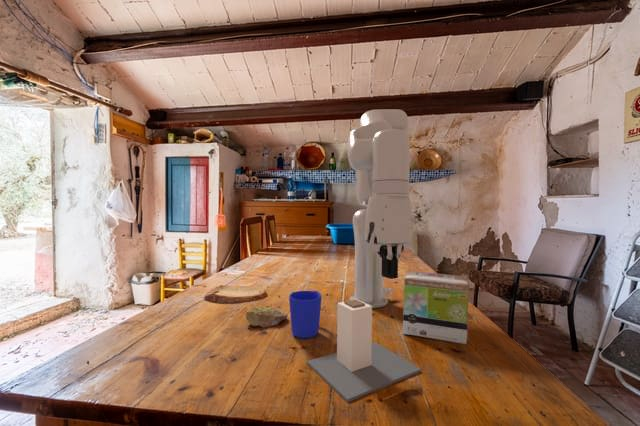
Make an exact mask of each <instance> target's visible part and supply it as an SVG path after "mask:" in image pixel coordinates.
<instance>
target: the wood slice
mask: <svg viewBox="0 0 640 426" xmlns="http://www.w3.org/2000/svg"><path fill="white" fill-rule="evenodd" d="M268 296H269V294H268V293H267V291H266V289H265V288H263V287H259V286H258V287H257V286H250V285H249V286H247V285H226V284H225V285H224V284H223V285H222V284H221V285H219V286H215V287H214V288H211V289H210V290H209V291H208V292H206V294H205V295H204V297H203V299H205V300H204V301H209V302H212V303H218V302H221V303H220V304H224V303H225V304H226V303H227V304H228V303H231V304H233V302H235V303H245V301H247V302H253V301H252V300H254V301H258V300H261V299H265V298H266V297H268Z"/></svg>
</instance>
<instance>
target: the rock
mask: <svg viewBox="0 0 640 426" xmlns="http://www.w3.org/2000/svg"><path fill="white" fill-rule="evenodd" d="M245 317H246V319H245V320H247V322H248V323H249V324H250V325H251V326H254V327H258V326H260V327H262V328H269V327H273V326H275V325H278V324H279V323H280V322H282V321H284V320H286V319H287V318H288V314H287V313H285V312H284V311H281V310H280V309H278V308H276V307H273V306H271V307H270V306H267V307H263V306H258V307H257V306H255V307H254V308H250V310H249V311H247V312H246V314H245Z"/></svg>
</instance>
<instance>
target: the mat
mask: <svg viewBox="0 0 640 426" xmlns="http://www.w3.org/2000/svg"><path fill="white" fill-rule="evenodd" d="M306 365H308V367H310V368H311V369H312V370H313V371H314V372H315V373H316V374H317V375H318V376H319V377H320V378H321V379H322V380H323V381H325V382H326V384H327V385H328V386H329V387H330V388H331V389H333V391H335V392H336V394H338V395H339V396H340V397H341V398H342V399H343V400H344V401H345V402H346V403H349V402H352V401H353V400H356V399H359V398H362V397H363V396H364V397H365V396H367V395H368V394H371V393H373V392H376V391H378V390H381V389H383V388H385V387H388V386H391V385H392V384H394V383H398V382H400V381H401V380H404V379H406V378H410V377H412V376H415V375H417V374H419V373H421V372H422V370H421V368H419V367H418V366H417V365H414V364H413V363H411V362H410V361H407V360H406V359H404V358H402V357H401V356H399V355H398V354H396V353H394V352H392V351H391V350H389V349H387V348H385V347H384V346H382V345H381V344H379V343H377V342H375V341H373V340H372V355H371V365H370V366H367V367H364V368H361V369H358V370H355V371H352V372H351V371H350V370H348V369H347V368H346V367H345V366H344V365H342V364H341V363H340V362H339V361H337V351H335V352H333V353H329V354H326V355H323V356H320V357H317V358H314V359H309V360H308V361H306Z"/></svg>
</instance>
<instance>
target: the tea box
mask: <svg viewBox="0 0 640 426" xmlns="http://www.w3.org/2000/svg"><path fill="white" fill-rule="evenodd" d="M405 273H406V274H405V277H404V284H403V309H402V310H403V311H402V334H403V335H411V336H416V337H422V338H429V339H434V340H440V341H445V342H450V343H456V344H460V343H461V345H466V344H467V342H468V341H467V340H468V330H469V329H468V326H469V321H468V320H469V297H470V293H469V292H470V284H469V283H468V281H467V279H466V277H465V275H457V274H446V273H445V274H444V273H434V272H426V271H425V272H424V271H413V270H406V272H405Z"/></svg>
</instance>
